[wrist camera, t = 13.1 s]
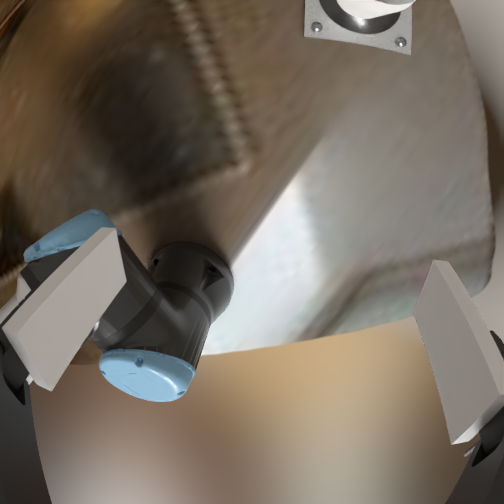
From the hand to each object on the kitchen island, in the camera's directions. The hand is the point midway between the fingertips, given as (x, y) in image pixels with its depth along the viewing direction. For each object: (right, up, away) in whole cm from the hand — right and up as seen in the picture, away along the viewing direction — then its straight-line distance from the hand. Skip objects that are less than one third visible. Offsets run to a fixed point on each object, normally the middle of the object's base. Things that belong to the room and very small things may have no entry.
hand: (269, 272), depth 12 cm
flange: (+13, +33, +15) cm, 39 cm away
